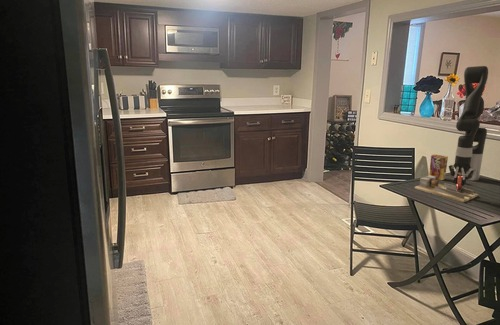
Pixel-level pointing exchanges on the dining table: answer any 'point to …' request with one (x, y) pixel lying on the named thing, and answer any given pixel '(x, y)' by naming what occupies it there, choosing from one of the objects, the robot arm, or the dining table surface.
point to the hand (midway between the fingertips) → (459, 184)
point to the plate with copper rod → (457, 185)
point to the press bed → (444, 190)
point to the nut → (434, 183)
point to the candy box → (438, 166)
